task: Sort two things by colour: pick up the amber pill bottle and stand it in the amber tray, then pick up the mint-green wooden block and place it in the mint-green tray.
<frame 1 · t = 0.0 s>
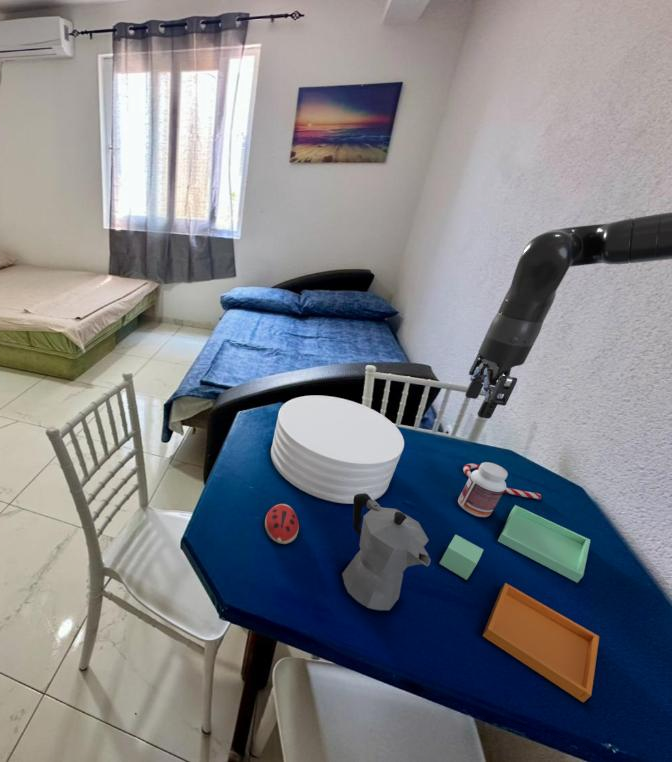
hand: (476, 406, 88), 21 cm above the table, tool pointing down, fingers open, 8 cm apart
candy cane: (498, 484, 98), on the table
mint tray: (541, 544, 82), on the table
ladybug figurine: (280, 528, 84), on the table
pill bottle: (473, 508, 90), on the table
plate stack: (327, 463, 102), on the table
amber tray: (537, 639, 65), on the table
coffeepot: (364, 582, 73), on the table
mint block: (456, 564, 77), on the table
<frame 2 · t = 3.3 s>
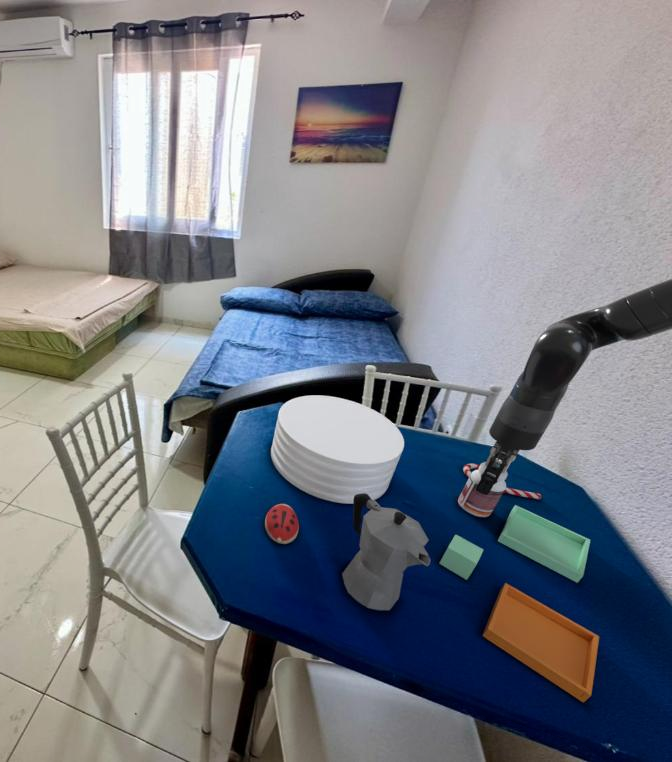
hand: (485, 484, 87), 7 cm above the table, tool pointing down, fingers closed on pill bottle, 6 cm apart
pill bottle: (473, 508, 90), on the table, touching gripper
everything else where it was.
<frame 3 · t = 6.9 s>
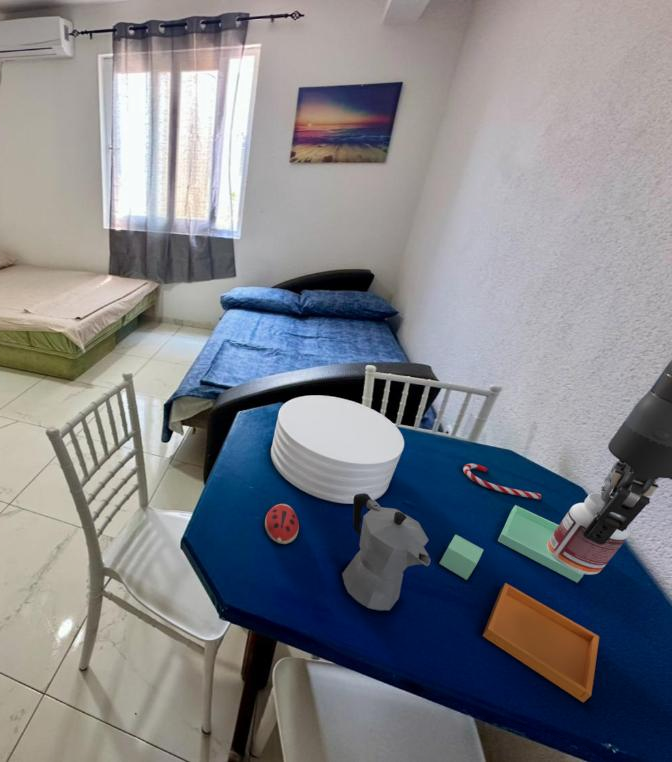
hand: (595, 526, 58), 22 cm above the table, tool pointing down, fingers closed on pill bottle, 6 cm apart
pill bottle: (570, 558, 61), point 15 cm above the table, touching gripper
everything else where it was.
when the fingers open (7 cm above the table, at t = 11.0 s): pill bottle stays where it is, resting on amber tray.
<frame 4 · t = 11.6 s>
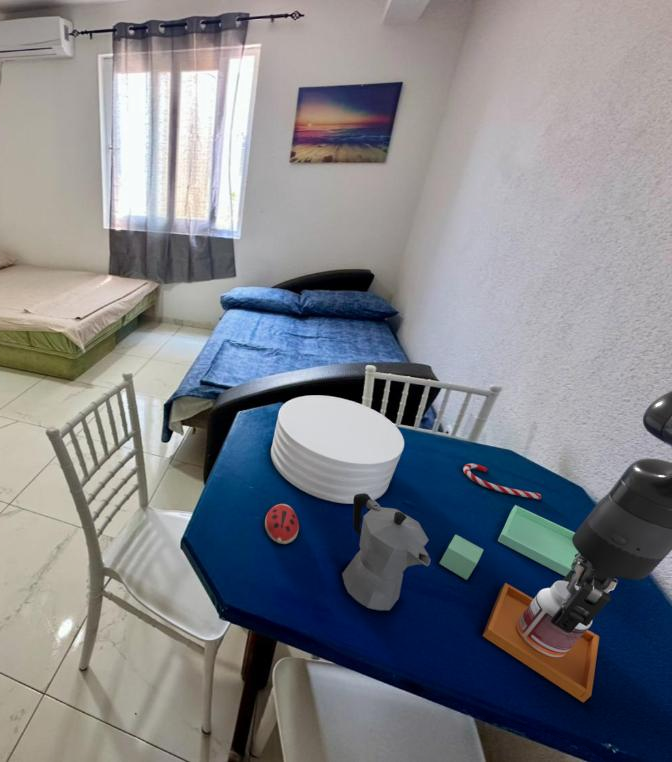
hand: (564, 607, 61), 8 cm above the table, tool pointing down, fingers open, 8 cm apart
pill bottle: (538, 638, 65), resting on amber tray
everything else where it was.
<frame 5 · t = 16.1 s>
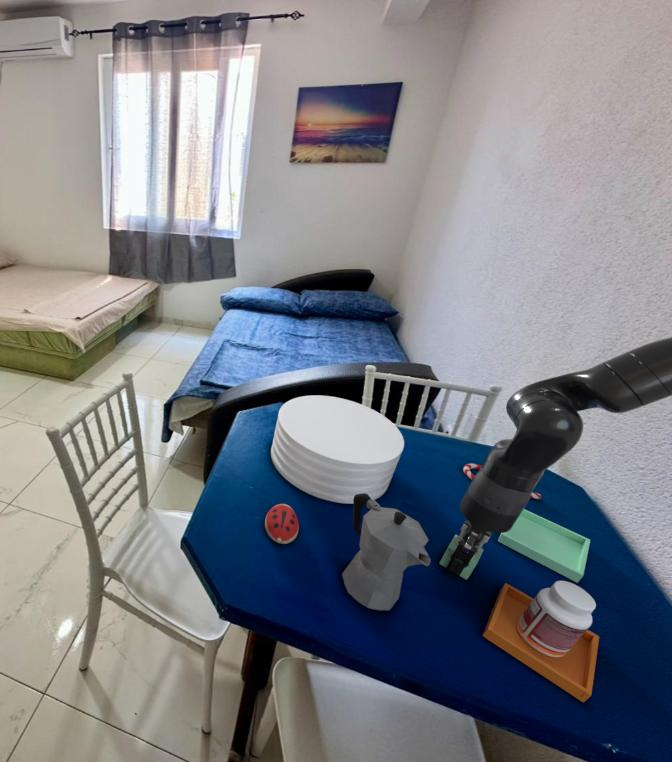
hand: (457, 563, 77), 0 cm above the table, tool pointing down, fingers closed on mint block, 4 cm apart
mint block: (456, 564, 77), on the table, touching gripper
everything else where it was.
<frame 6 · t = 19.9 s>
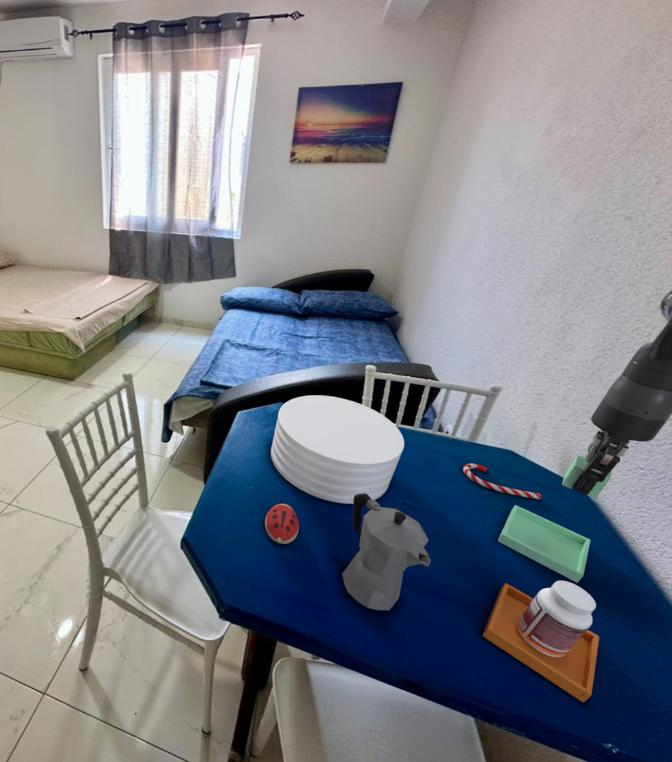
hand: (581, 484, 74), 16 cm above the table, tool pointing down, fingers closed on mint block, 4 cm apart
mint block: (579, 486, 74), point 16 cm above the table, touching gripper
everything else where it was.
when the fingers open (1 cm above the table, at t = 23.7 s): mint block stays where it is, resting on mint tray.
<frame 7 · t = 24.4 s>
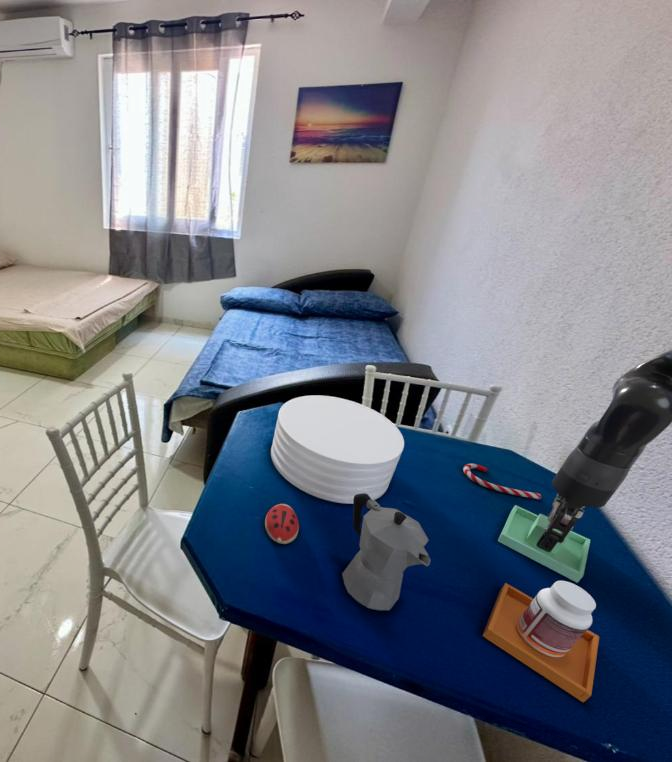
hand: (546, 536, 81), 2 cm above the table, tool pointing down, fingers open, 8 cm apart
mint block: (541, 542, 82), point 1 cm above the table, touching mint tray
everything else where it was.
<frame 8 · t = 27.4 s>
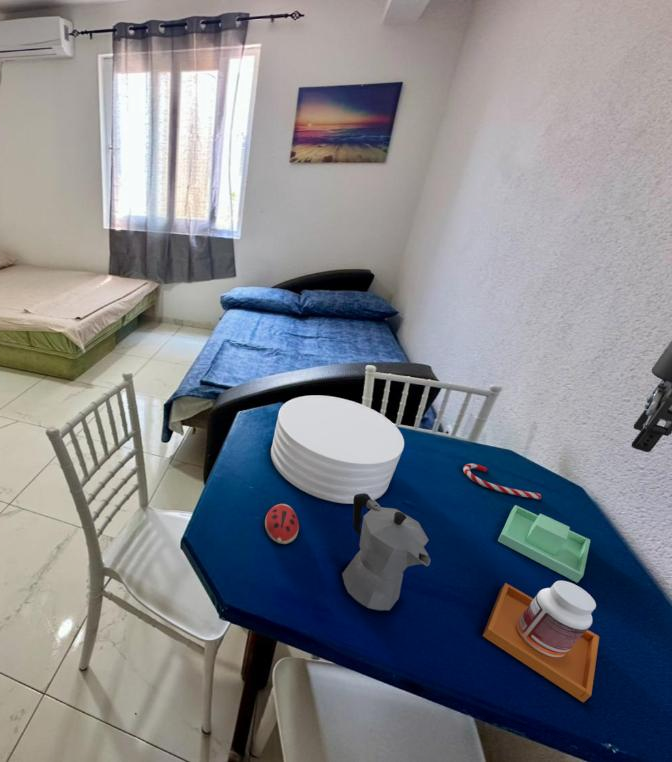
hand: (640, 439, 70), 26 cm above the table, tool pointing down, fingers open, 8 cm apart
nothing on the table moved.
at the end: pill bottle inside the target area in the amber tray (0.1 cm from its centre), point 0.4 cm above the amber tray's base; pill bottle tilted 0°; mint block inside the target area in the mint tray (0.1 cm from its centre), point 0.6 cm above the mint tray's base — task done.
